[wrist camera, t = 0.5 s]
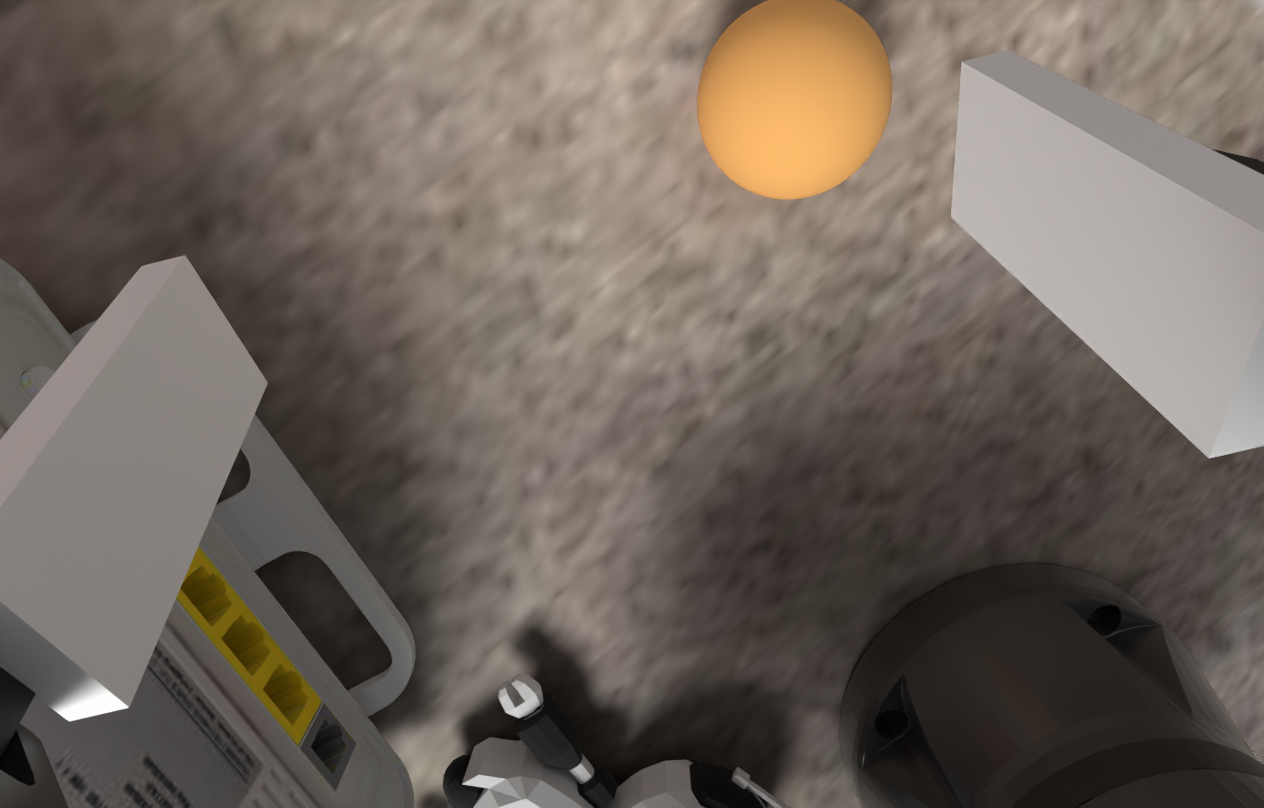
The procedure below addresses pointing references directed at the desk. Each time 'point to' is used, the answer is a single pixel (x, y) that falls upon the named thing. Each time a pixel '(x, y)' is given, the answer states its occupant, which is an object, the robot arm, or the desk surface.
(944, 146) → the desk surface
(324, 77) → the desk surface
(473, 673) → the desk surface
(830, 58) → the ball
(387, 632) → the network device
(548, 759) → the robot toy
